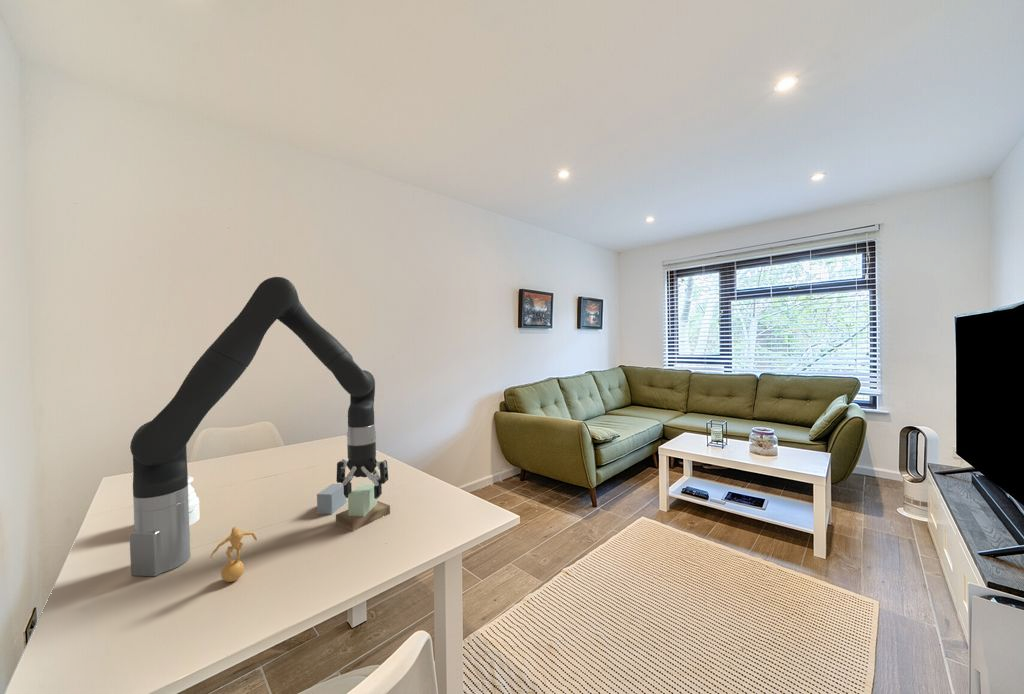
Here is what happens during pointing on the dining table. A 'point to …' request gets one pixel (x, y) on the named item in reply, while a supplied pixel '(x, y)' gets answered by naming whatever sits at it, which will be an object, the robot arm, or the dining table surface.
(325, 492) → the slate brick
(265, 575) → the dining table surface
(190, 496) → the honey pot
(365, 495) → the sage brick
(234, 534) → the figurine
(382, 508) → the walnut brick
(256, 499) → the dining table surface
